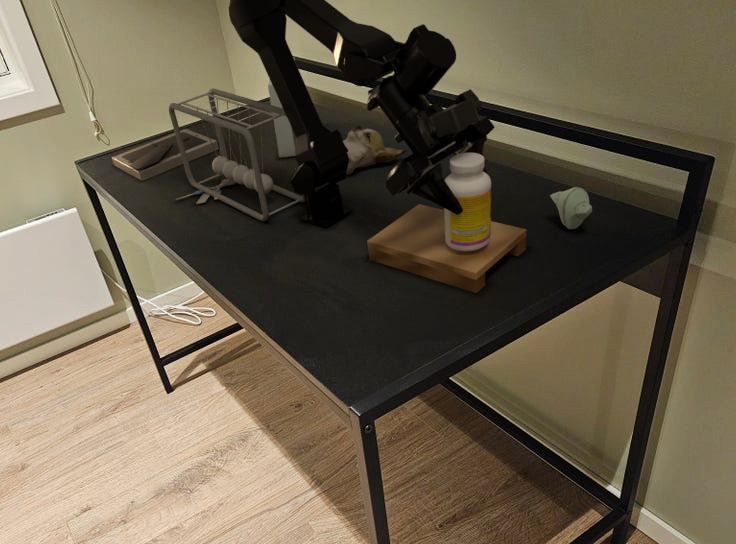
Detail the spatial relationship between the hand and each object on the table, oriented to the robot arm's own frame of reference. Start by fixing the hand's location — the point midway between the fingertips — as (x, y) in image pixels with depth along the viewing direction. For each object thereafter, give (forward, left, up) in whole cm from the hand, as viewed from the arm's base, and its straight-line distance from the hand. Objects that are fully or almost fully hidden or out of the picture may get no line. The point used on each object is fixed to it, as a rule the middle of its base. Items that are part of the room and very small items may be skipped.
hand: (475, 203), depth 93 cm
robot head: (+7, +17, -11) cm, 21 cm away
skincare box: (-67, +28, -11) cm, 74 cm away
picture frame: (-91, +8, -11) cm, 92 cm away
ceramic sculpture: (-41, +23, -11) cm, 49 cm away
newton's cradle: (-55, +2, -11) cm, 56 cm away
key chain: (-62, -1, -11) cm, 63 cm away
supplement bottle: (-1, 0, -7) cm, 7 cm away
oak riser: (-6, +1, -11) cm, 12 cm away
